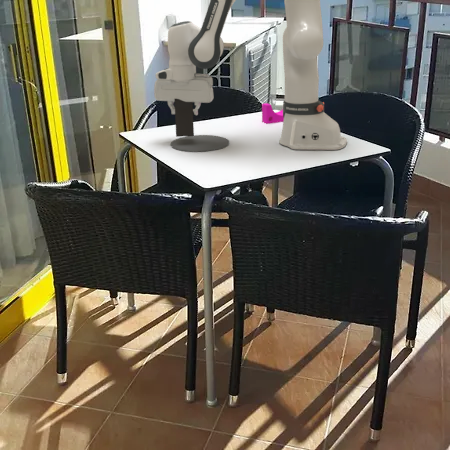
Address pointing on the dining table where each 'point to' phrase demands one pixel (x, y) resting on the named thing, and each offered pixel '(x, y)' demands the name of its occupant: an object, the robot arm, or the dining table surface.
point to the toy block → (271, 114)
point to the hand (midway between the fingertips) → (184, 114)
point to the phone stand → (184, 118)
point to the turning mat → (199, 143)
